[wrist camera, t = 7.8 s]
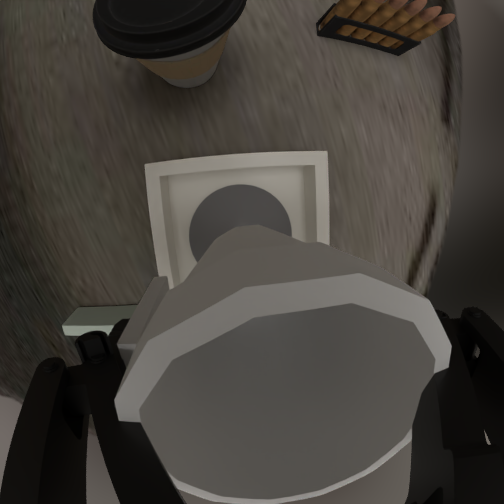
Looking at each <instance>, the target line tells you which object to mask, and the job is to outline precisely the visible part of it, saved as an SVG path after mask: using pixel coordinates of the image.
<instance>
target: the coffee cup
mask: <svg viewBox="0 0 504 504" xmlns="http://www.w3.org/2000/svg"><path fill="white" fill-rule="evenodd" d="M246 1H247V0H96V1H95V4H94V9H93V23H94V27H95V29H96V31H97V34H98V36H99V38H100V40H101V41H102V42H103V43H104V45H106V46H107V47H108V48H109V49H111V50H112V51H114V52H116V53H118V54H120V55H123V56H126V57H131V58H135V59H137V60H138V61H139V62H140V63H142V64H143V65H144V66H146V67H147V68H148V69H149V70H151V71H152V72H153V73H155V74H157V75H159V76H161V77H162V78H163V79H164V80H166V81H167V82H168V83H170V84H172V85H174V86H177V87H183V88H192V87H197V86H199V85H202V84H204V83H205V82H207V81H208V80H209V79H210V78H211V77H212V75H213V74H214V72H215V70H216V68H217V64H218V61H219V58H220V56H221V55H222V53H223V50H224V46H225V43H226V40H227V37H228V33H229V30H230V27H231V26H232V25H233V24H234V23H235V22H236V21H237V20H238V18H239V17H240V15H241V13H242V12H243V10H244V7H245V5H246Z"/></svg>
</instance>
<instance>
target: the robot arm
mask: <svg viewBox="0 0 504 504" xmlns="http://www.w3.org/2000/svg"><path fill="white" fill-rule="evenodd" d="M169 290H170V289H169V283H168V278H167V276H160V277H154V278H153V280H152V281H151V283H150V285H149V286H148V288H147V290H146V292H145V293H144V295H143V297H142V299H141V300H140V302H139V304H138V306H137V307H136V309H135V311H134V313H133V315H132V316H131V318H129V319H121V320H120V321H119V322H117V323H116V324H115V325H114V327H113V328H112V330H111V332H110V333H109V335H107V334H106V332H103V331H98V330H95V331H89V332H87V333H84V334H82V335H81V336H79V337H78V338H77V339H76V341H75V346H76V348H77V351H78V353H79V356H80V358H81V361H82V364H81V365H77V366H71V367H67V366H66V364H65V362H64V360H63V359H61V358H59V357H53V358H48V359H45V360H44V361H43V362H41V363H40V364H39V365H38V367H37V369H36V371H35V373H34V376H33V378H32V381H31V383H30V386H29V389H28V391H27V394H26V397H25V400H24V402H23V405H22V409H21V411H20V414H19V417H18V420H17V424H16V427H15V430H14V434H13V437H12V441H11V445H10V448H9V452H8V457H7V461H6V466H5V470H4V475H3V480H2V486H1V492H0V504H86V458H87V455H86V454H87V437H88V425H89V414H92V417H93V421H94V425H95V429H96V433H97V437H98V440H99V444H100V447H101V451H102V454H103V457H104V461H105V464H106V467H107V469H108V472H109V475H110V478H111V481H112V484H113V486H114V489H115V491H116V494H117V497H118V499H119V502H120V504H186V502H185V500H184V499H183V497H182V496H181V494H180V492H179V491H178V489H177V488H176V486H175V484H174V483H173V481H172V479H171V477H170V476H169V474H168V472H167V470H166V469H165V467H164V465H163V463H162V462H161V460H160V458H159V456H158V454H157V453H156V451H155V449H154V447H153V445H152V443H151V441H150V439H149V437H148V436H147V434H146V432H145V430H144V428H143V426H142V424H141V422H128V421H119V420H118V415H117V411H116V406H115V401H114V400H115V397H116V394H117V392H118V389H119V387H120V384H121V381H122V379H123V376H124V374H125V371H126V369H127V366H128V364H129V361H130V359H131V356H132V354H133V352H134V349H135V347H136V345H137V343H138V341H139V339H140V338H141V336H142V334H143V332H144V331H145V329H146V327H147V325H148V324H149V322H150V320H151V318H152V317H153V315H154V313H155V312H156V310H157V308H158V306H159V305H160V303H161V301H162V300H163V298H164V296H165V295H166V293H167V291H169ZM434 310H435V309H434ZM435 312H436V314H437V316H438V318H439V320H440V322H441V324H442V326H443V328H444V330H445V332H446V335H447V337H448V339H449V341H450V343H451V345H452V347H451V354H450V361H449V367H448V368H446V369H444V370H441V371H439V372H436V373H434V375H433V377H432V378H431V380H430V381H429V383H428V384H427V385H426V387H425V388H424V390H423V391H422V393H421V397H420V400H419V404H418V408H417V411H416V414H415V418H414V421H413V424H412V453H411V472H410V485H409V493H408V497H407V500H406V502H405V504H504V331H503V330H502V329H501V328H500V327H499V326H498V325H497V324H496V323H495V322H494V321H493V320H492V319H491V318H490V317H489V316H488V315H487V314H486V313H485V312H484V311H483V310H481V309H479V308H477V307H467V308H464V309H463V310H462V314H461V318H456V319H450V318H449V316H448V315H447V314H446V313H444V312H443V311H440V310H435ZM477 347H479V349H480V354H479V357H478V358H477V357H476V356H475V353H476V350H477ZM484 430H485V432H486V434H487V436H488V439H489V441H490V443H491V445H488V444H487V442H486V438H485V433H484Z"/></svg>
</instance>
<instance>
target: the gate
mask: <svg viewBox="0 0 504 504" xmlns="http://www.w3.org/2000/svg"><path fill="white" fill-rule="evenodd" d="M137 306H138V305H125V306H103V307H78V308H77V309H76V310H75V311H74V312H73V314H72V315H71V316H70V317H69V318H68V319H67V320H66V322H65V323H64V324H63V325H62V327H63V330H64V333H65V335H76V336H81V335H82V334H84V333H87V332H89V331H95V330H98V331H103V332H106V334H107V335H109V333H110V332H111V330H112V328H113V327H114V325H115V324H116V323H117V322H119V321H120V320H121V319H129V318H131V316H132V315H133V313H134V311H135V309H136V307H137Z"/></svg>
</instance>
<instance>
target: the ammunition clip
mask: <svg viewBox="0 0 504 504" xmlns="http://www.w3.org/2000/svg"><path fill="white" fill-rule="evenodd" d="M384 1H385V0H340V1H339V2H338V3H337V4H336V3H334V4H333V5H332V6H331V7H330V8H329V9H328V11H327V12H326V13H325V14H324V15H323V16H322V17H321V18H320V20H319V21H318V22H317V23H316V25H317V35H318V36H322V37H327V38H333V39H338V40H342V41H347V42H351V43H355V44H359V45H363V46H367V47H371V48H374V49H378V50H381V51H385V52H388V53H391V54H394V55H397V56H399V55H401V54H403V53H405V52H406V51H408V50H410V49H412V48H414V47H416V46H417V45H419V44H421V40H423V39H425V38H427V37H429V36H431V35H433V34H434V33H435V32H436V31H438V30H439V29H441V28H442V27H444V26H446V25H448V24H449V23H450V22H451V21H452V20H453V19H454V18H455V15H454V14H444V15H441V16H438V17H436V16H437V15H438V14H439V13H440V12H441V9H442V7H440V6H435V7H430V8H427V9H425V10H423V11H421V10H422V9H423V8H424V6H425V5H426V3H427V0H415V1H413V2H411V3H409V4H407V5H406V6H404V7H402V6H403V5H405V3H406V2H407V1H408V0H388V1H386V2H385V3H383V2H384ZM382 3H383V4H382ZM401 7H402V8H401ZM420 11H421V12H420ZM418 12H419V13H418ZM435 17H436V18H435Z"/></svg>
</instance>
